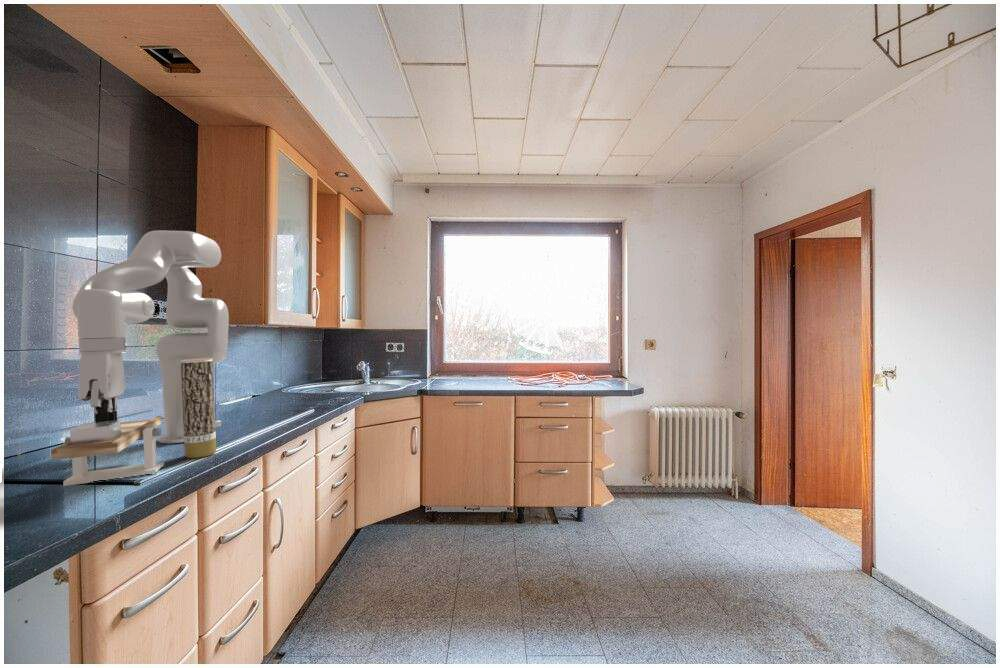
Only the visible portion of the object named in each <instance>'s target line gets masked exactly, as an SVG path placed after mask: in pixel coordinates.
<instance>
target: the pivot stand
mask: <svg viewBox="0 0 1000 668" xmlns="http://www.w3.org/2000/svg"><path fill="white" fill-rule="evenodd" d="M160 436H162V428H161V427H151V428H146V429H144V430H143V440H142V441H143V459H144V464H138V465H137V464H136V465H129V466H121V467H113V468H103V469H97V470H88V456H85V457H76V458H71V463H72V464H71V465H72V475H71V476H70V477H68V478H67V479H65V480H63V487H67V486H77V485H80V484H88V483H90V482H91V483H94V482H93V481H98V480H106V479H113V478H120V477H127V476H135V475H144V474H150V473H155V472H157V471H158V470H159V469H160V468H161V467H163V466H164V467H165V461H161V462H160V461H159V462H157V460H158V459H157V444H156V443H157V441H156V440H157V439H156V437H160ZM68 441H70V436H66V437H65V439H64V443H66V442H68ZM164 467H163V468H164ZM159 471H160V470H159ZM159 471H158V472H159ZM158 472H157V473H158ZM144 476H145V475H144ZM106 481H107V480H106ZM98 482H99V481H98ZM91 483H90V484H91Z"/></svg>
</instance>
